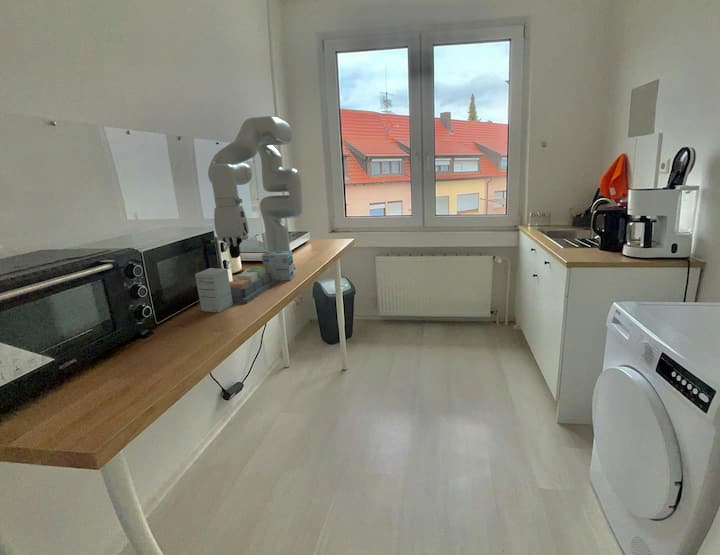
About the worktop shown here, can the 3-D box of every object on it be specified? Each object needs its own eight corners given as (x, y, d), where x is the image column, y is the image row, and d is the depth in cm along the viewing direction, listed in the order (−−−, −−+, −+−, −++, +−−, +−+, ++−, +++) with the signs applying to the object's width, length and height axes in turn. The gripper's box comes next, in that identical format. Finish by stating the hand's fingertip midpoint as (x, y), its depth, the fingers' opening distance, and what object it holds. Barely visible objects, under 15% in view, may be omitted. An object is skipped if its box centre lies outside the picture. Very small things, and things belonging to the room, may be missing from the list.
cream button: (245, 282, 157) (244, 272, 156) (258, 282, 155) (257, 272, 154) (239, 286, 152) (237, 275, 151) (252, 286, 151) (250, 275, 150)
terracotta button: (237, 290, 151) (235, 279, 149) (250, 290, 149) (248, 279, 148) (229, 295, 146) (228, 283, 145) (243, 295, 145) (241, 284, 144)
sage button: (254, 277, 163) (253, 267, 162) (266, 277, 162) (265, 267, 161) (248, 281, 158) (246, 270, 157) (260, 281, 157) (259, 270, 156)
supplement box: (215, 303, 144) (209, 267, 141) (233, 305, 141) (228, 268, 138) (200, 311, 137) (194, 273, 134) (219, 312, 135) (213, 274, 131)
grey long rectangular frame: (252, 282, 167) (251, 271, 166) (276, 283, 165) (274, 271, 163) (220, 303, 144) (218, 290, 143) (246, 303, 142) (245, 290, 141)
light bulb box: (295, 276, 173) (292, 250, 170) (291, 280, 167) (288, 253, 164) (269, 277, 174) (266, 251, 171) (264, 281, 168) (261, 255, 165)
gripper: (253, 200, 141) (260, 254, 146) (213, 202, 145) (221, 254, 150) (242, 203, 134) (250, 259, 140) (200, 205, 138) (210, 260, 143)
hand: (235, 257), depth 145 cm, fingers closed
